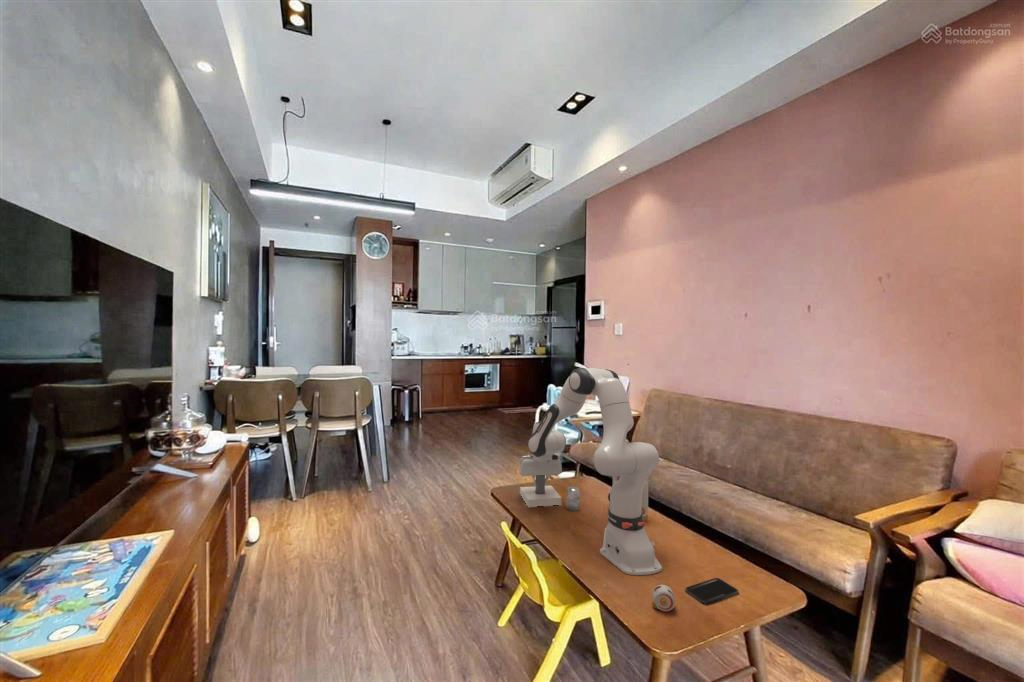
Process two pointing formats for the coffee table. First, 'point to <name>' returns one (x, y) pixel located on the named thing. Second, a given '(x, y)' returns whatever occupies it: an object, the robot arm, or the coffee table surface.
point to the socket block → (540, 497)
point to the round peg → (573, 498)
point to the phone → (711, 591)
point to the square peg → (540, 484)
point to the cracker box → (644, 499)
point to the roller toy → (663, 598)
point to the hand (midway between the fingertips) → (540, 484)
